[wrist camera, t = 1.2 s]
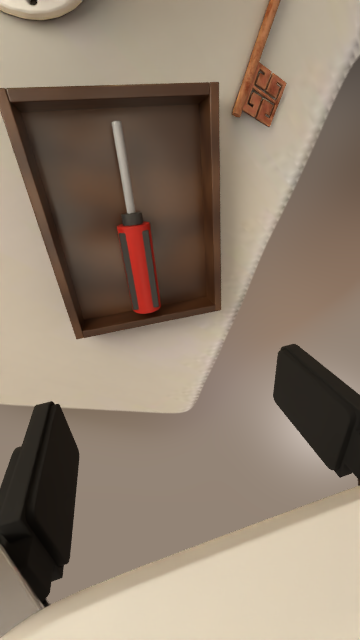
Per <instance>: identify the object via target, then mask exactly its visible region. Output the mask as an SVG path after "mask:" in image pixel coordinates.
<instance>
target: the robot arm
mask: <svg viewBox="0 0 360 640" xmlns="http://www.w3.org/2000/svg"><path fill="white" fill-rule="evenodd" d="M30 1H31V0H0V10H1V11H3V12H5V13H8V14H11V15H14V16H17V17H20V18H24V19H34V20H46V19H52V18H57V17H60V16H62V15H64V14H66V13H68V12H70V11H72V10H74V9H75V8H76V7H77V6H78V5H79V4H80V3H81V2H82V1H83V0H36V1H37V5H34V6H32V5H31V4H30ZM273 397H274V400H275V402H276V404H277V405H278V406H279V407H280V409H281V410H282V411H283V412H284V414H285V415H286V416H287V417H288V419H289V420H290V421H291V422H292V424H293V425H294V426H295V427H296V429H297V430H298V431H299V432H300V434H301V435H302V436H303V437H304V438H305V440H306V441H307V442H308V443H309V445H310V446H311V447H312V448H313V450H314V451H315V452H316V453H317V455H318V456H319V457H320V458H321V460H322V461H323V462H324V463H325V465H326V466H327V467H328V468H329V469H331V470H334V471H335V472H336V473H337V475H338V476H339V477H343V476H345V475H349V474H351V473H352V472H353V473H354V475H355V476H356V477H357V478H358V486H357V487H354V488H351V489H348V490H345V491H343V492H340V493H337V494H335V495H332V496H329V497H326V498H323V499H321V500H318V501H315V502H312V503H310V504H307V505H304V506H301V507H299V508H296V509H293V510H291V511H288V512H285V513H282V514H280V515H277V516H275V517H272V518H269V519H266V520H264V521H261V522H258V523H256V524H253V525H250V526H248V527H245V528H242V529H239V530H237V531H234V532H232V533H229V534H226V535H223V536H221V537H218V538H216V539H213V540H210V541H207V542H205V543H202V544H199V545H197V546H194V547H192V548H189V549H186V550H184V551H181V552H178V553H176V554H173V555H170V556H168V557H165V558H162V559H160V560H157V561H155V562H152V563H149V564H147V565H144V566H141V567H139V568H136V569H133V570H131V571H129V572H126V573H123V574H121V575H118V576H116V577H114V578H111V579H108V580H106V581H104V582H101V583H99V584H96V585H93V586H91V587H88V588H86V589H83V590H81V591H79V592H77V593H75V594H72V595H70V596H68V597H66V598H64V599H62V600H60V601H57V602H55V603H53V604H50V603H49V601H48V600H47V598H46V597H47V596H48V595H49V593H50V587H51V582H52V581H54V580H57V579H60V578H62V576H63V567H64V565H65V564H67V563H68V562H69V559H70V550H71V540H72V529H73V519H74V507H75V497H76V487H77V476H78V465H79V451H78V448H77V445H76V443H75V440H74V438H73V436H72V433H71V431H70V428H69V426H68V424H67V421H66V419H65V417H64V414H63V412H62V409H61V407H60V405H59V404H56V405H55V404H54V403H53V402H47V403H43V404H39V405H36V406H35V407H34V410H33V413H32V416H31V419H30V422H29V425H28V429H27V432H26V435H25V438H24V441H23V444H22V446H21V447H18V448H16V449H15V450H14V452H13V454H12V456H11V459H10V462H9V465H8V468H7V470H6V474H5V476H4V479H3V482H2V485H1V488H0V640H360V395H359V394H358V393H356V392H355V391H354V390H353V389H351V388H350V387H349V386H348V385H346V384H345V383H344V382H343V381H341V380H340V379H339V378H338V377H337V376H335V375H334V374H333V373H331V372H330V371H329V370H328V369H326V368H325V367H324V366H323V365H321V364H320V363H319V362H318V361H317V360H315V359H314V358H313V357H312V356H310V355H309V354H308V353H307V352H305V351H304V350H303V349H301V348H300V347H299V346H298V345H296V344H291V345H288V346H284V347H282V348H281V350H280V351H279V352H278V357H277V366H276V375H275V384H274V393H273Z"/></svg>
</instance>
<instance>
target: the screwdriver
mask: <svg viewBox="0 0 360 640" xmlns="http://www.w3.org/2000/svg"><path fill="white" fill-rule="evenodd" d="M112 128H113V134H114V140H115V146H116V151H117V157H118V163H119V169H120V175H121V180H122V186H123V192H124V198H125V204H126V209H127V213H123V214H121V218H122V223H123V224H120V225H118V226H117V231H118V236H119V241H120V246H121V251H122V256H123V262H124V267H125V272H126V277H127V282H128V287H129V292H130V297H131V302H132V308H133V311H134V312H136V313H139V314H147V313H152V312H155V311H157V310H158V309H159V308H160V307H161V302H160V294H159V287H158V280H157V272H156V265H155V258H154V250H153V243H152V235H151V228H150V223H149V222H144V221H143V216H142V212H135V205H134V199H133V193H132V186H131V180H130V174H129V167H128V161H127V155H126V148H125V142H124V135H123V129H122V123H121V121H113V122H112Z"/></svg>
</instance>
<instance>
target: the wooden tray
mask: <svg viewBox="0 0 360 640" xmlns="http://www.w3.org/2000/svg"><path fill="white" fill-rule="evenodd" d="M0 111H1V114H2V117H3V120H4V123H5V126H6V129H7V132H8V135H9V138H10V141H11V144H12V147H13V150H14V153H15V156H16V159H17V162H18V165H19V168H20V171H21V174H22V177H23V180H24V183H25V186H26V189H27V192H28V195H29V198H30V201H31V204H32V207H33V210H34V213H35V216H36V219H37V222H38V225H39V228H40V231H41V234H42V237H43V240H44V243H45V246H46V249H47V252H48V255H49V258H50V261H51V264H52V267H53V270H54V273H55V276H56V279H57V282H58V285H59V288H60V291H61V294H62V297H63V300H64V303H65V306H66V309H67V312H68V315H69V318H70V321H71V324H72V327H73V330H74V333H75V336H76V339H80V338H86V337H91V336H96V335H101V334H105V333H110V332H115V331H120V330H125V329H130V328H135V327H140V326H145V325H150V324H155V323H159V322H164V321H169V320H174V319H179V318H184V317H189V316H194V315H199V314H204V313H209V312H213V311H218V310H221V246H220V151H219V82H210V83H208V82H206V83H170V84H135V85H100V86H64V87H29V88H6V89H5V88H0ZM113 121H121V123H122V129H123V135H124V142H125V148H126V155H127V161H128V167H129V174H130V180H131V186H132V193H133V199H134V205H135V212H142V216H143V221H144V222H149V223H150V228H151V235H152V243H153V250H154V258H155V265H156V272H157V280H158V287H159V294H160V302H161V307H160V308H159V309H158V310H157V311H155V312H152V313H147V314H139V313H136V312H134V311H133V308H132V302H131V297H130V292H129V287H128V282H127V277H126V272H125V267H124V262H123V256H122V251H121V246H120V241H119V236H118V231H117V226H118V225H120V224H123V223H122V218H121V214H123V213H127V209H126V204H125V198H124V192H123V186H122V180H121V175H120V169H119V163H118V157H117V151H116V146H115V140H114V134H113V128H112V122H113Z"/></svg>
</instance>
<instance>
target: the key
mask: <svg viewBox="0 0 360 640" xmlns="http://www.w3.org/2000/svg"><path fill="white" fill-rule="evenodd" d="M279 3H280V0H270V1H269V4H268V7H267V10H266V13H265V16H264V19H263V22H262V25H261V28H260V31H259V34H258V37H257V40H256V43H255V46H254V49H253V52H252V55H251V58H250V61H249V64H248V67H247V70H246V73H245V76H244V79H243V82H242V85H241V88H240V91H239V94H238V97H237V100H236V103H235V106H234V109H233V112H232V115H233V116H235V117H240V116H241V113H242V110H243V111H244V112H246V113H247V114H249V115H251V116H252V117H255V116H256V113H257V110H258V108H259V105H260V102H261V99H262V97H260V96H259V95H257V94H256V93H255V92H253V93H252V95H251V98H250V101H249V103H250V104H252V105H253V106H252V107H251V106H250V105H248V104H247V102H248V100H249V97H250V94H251V91H252V89H253V90H255V91H256V92H258V93H259V94H261V95H262V96H263V97H265V98H266V99H268V100H269V101H271V102H272V103H274V107H273V105H272V104H271V103H269V102H268V101H266V100H265V99H263V100H262V102H261V105H260V108H259V110H258V113H257V116H256V119H257V120H258V121H260V122H262V123H263V124H265V125H266V126H268V127H269V126H270V125H271V122H272V119H273V117H274V114H275V112H276V109H277V107H278V104H279V101H280V99H281V96H282V94H283V91H284V88H285V86H286V82H284V81H283V80H282V79H281V78H279V77H278V76H277V75H275V74H274V73H273V74H272V75H271V71H270V70H269V69H267V68H266V67H265V66H263V65H262V64H261V63H260V62H259V61H260V58H261V55H262V52H263V49H264V46H265V43H266V40H267V38H268V35H269V32H270V29H271V26H272V23H273V20H274V17H275V14H276V12H277V9H278V6H279ZM259 70H260V71H262V72H263V73H264V75H263V74H262V73H259V75H258V78H257V81H256V85H257V86H258V87H260V88H261V89H263V90H265V88H266V86H267V83H268V80H269V77H270V75H271V78H270V80H269V83H268V86H267V89H266V91H265V92H267V93H268V94H270V95H271V96H273V97H274V98H276V97H277V99H276V101H275V100H274V99H273V98H271V97H270V96H268V95H267V94H265V93H264V92H263V91H261V90H260V89H258V88H257V87H255V86H254V83H255V80H256V77H257V74H258V72H259ZM277 83H278V84H279V85H280V86H281V88H280V87H279V86H278V85H277ZM279 89H280V91H279ZM278 91H279V94H278ZM277 94H278V96H277ZM272 107H273V109H272ZM271 110H272V112H271ZM270 112H271V115H270ZM265 114H267V115H270V117H269V118H268V117H267V116H265Z"/></svg>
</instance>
